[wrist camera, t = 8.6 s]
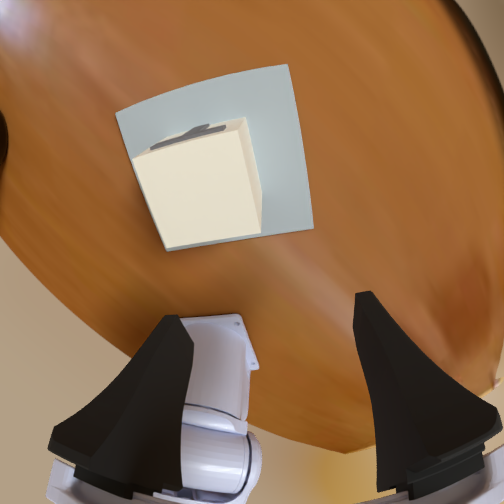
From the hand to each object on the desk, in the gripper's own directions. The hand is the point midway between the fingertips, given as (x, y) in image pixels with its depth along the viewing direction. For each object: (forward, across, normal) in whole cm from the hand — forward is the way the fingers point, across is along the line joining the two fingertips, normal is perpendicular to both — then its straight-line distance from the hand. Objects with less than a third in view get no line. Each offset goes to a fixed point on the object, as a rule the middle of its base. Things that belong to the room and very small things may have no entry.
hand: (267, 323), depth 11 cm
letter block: (+9, +2, -4) cm, 10 cm away
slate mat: (+9, +2, -4) cm, 11 cm away
